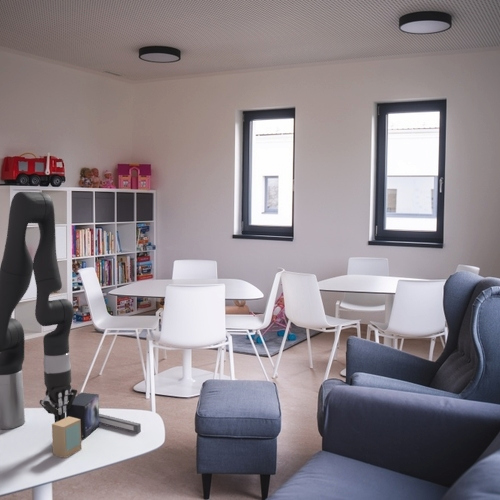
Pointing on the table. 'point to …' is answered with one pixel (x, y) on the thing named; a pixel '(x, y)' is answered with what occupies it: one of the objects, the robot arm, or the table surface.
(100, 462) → the table surface
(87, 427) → the small box
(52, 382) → the robot arm
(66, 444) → the kraft carton
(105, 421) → the rail
